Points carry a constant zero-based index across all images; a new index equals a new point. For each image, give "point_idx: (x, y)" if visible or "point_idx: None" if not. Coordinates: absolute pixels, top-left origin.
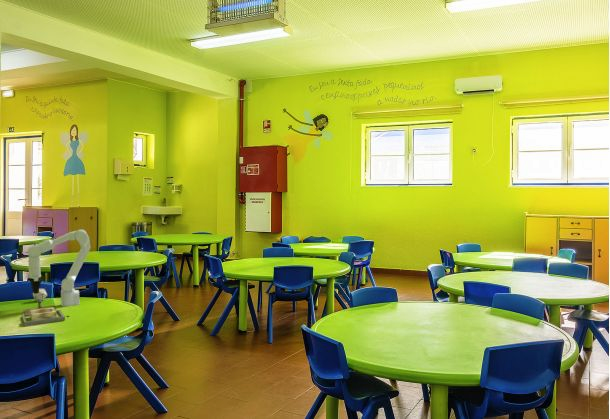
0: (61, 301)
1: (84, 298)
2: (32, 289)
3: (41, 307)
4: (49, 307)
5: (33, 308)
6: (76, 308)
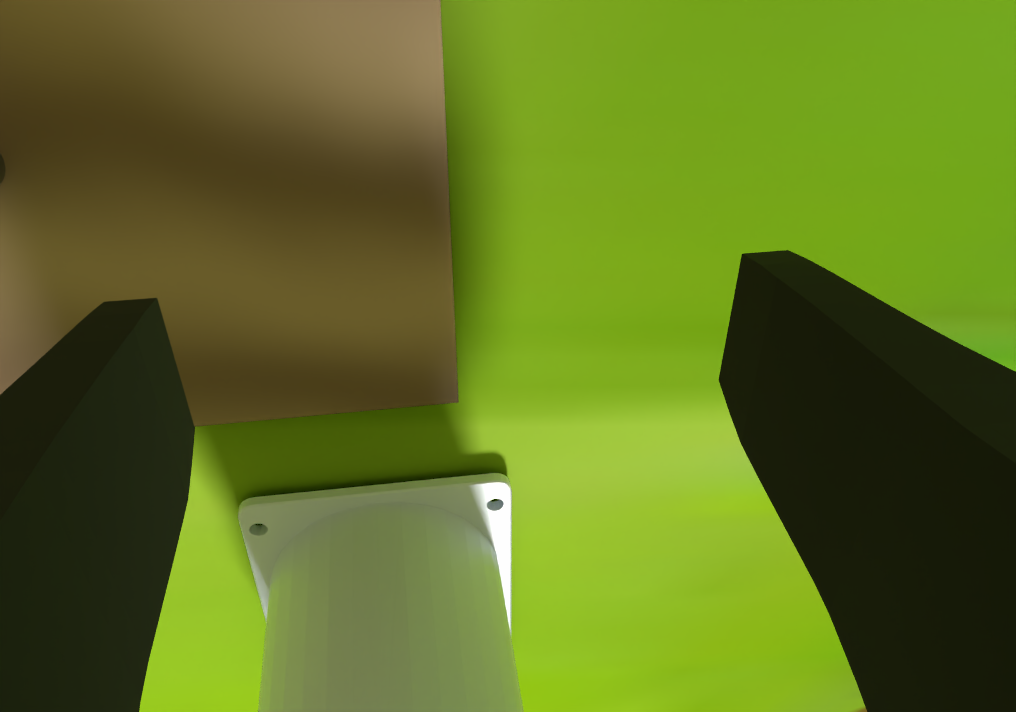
0: (355, 586)
1: (833, 691)
2: (779, 284)
3: (431, 202)
4: (331, 345)
5: (426, 21)
6: (169, 650)
